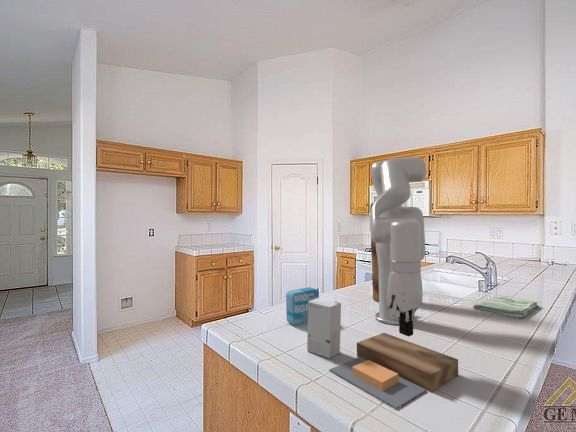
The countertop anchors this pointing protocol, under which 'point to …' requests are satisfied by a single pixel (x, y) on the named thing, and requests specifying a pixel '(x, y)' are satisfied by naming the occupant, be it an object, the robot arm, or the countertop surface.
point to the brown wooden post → (374, 269)
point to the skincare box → (324, 327)
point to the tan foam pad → (375, 375)
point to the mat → (390, 396)
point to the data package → (299, 304)
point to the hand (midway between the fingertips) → (406, 334)
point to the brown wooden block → (409, 360)
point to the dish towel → (506, 307)
